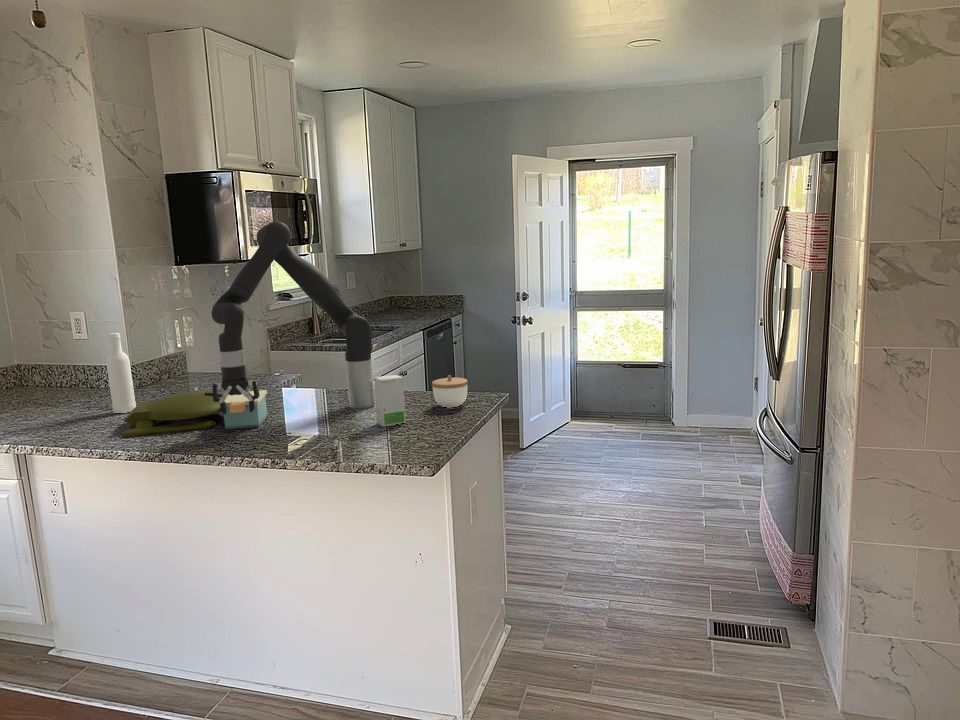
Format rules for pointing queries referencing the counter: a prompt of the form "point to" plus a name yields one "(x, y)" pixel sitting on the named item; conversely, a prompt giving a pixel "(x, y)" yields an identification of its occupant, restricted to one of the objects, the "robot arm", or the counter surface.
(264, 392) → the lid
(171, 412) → the spaceship
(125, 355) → the bottle
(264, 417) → the tub
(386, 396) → the skincare box
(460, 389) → the lidded bowl
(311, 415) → the counter surface
